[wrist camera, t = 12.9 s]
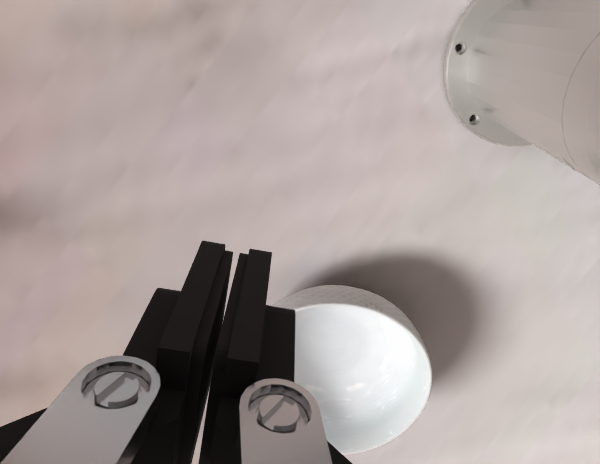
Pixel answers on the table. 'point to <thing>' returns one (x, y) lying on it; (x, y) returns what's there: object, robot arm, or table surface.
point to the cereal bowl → (359, 364)
